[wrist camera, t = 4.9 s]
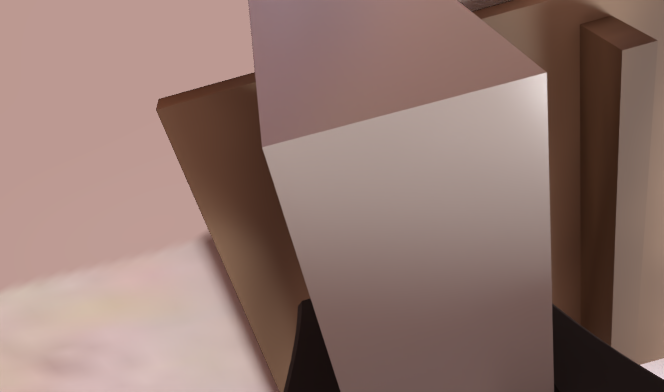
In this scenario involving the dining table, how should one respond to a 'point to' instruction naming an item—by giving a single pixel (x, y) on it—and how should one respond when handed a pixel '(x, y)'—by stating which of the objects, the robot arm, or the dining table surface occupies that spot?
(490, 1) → the dining table surface
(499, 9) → the rack
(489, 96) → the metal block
